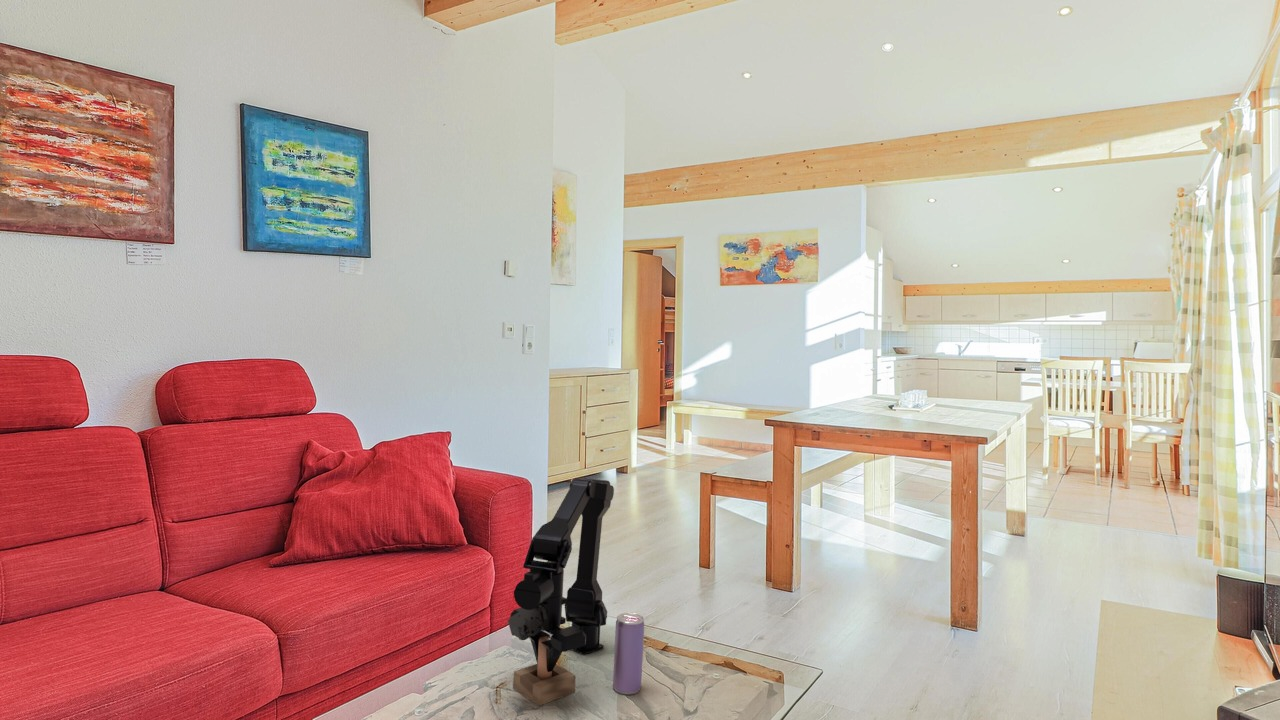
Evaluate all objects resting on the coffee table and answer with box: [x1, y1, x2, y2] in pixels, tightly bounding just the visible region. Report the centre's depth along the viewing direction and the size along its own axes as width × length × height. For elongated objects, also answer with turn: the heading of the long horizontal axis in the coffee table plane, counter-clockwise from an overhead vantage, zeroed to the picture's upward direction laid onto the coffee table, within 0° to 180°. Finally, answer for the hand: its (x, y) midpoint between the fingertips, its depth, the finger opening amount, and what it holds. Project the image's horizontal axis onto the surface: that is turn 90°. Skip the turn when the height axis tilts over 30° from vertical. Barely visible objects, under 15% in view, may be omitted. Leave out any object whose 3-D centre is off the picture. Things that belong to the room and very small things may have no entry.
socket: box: [512, 663, 576, 706], centre depth 149 cm, size 9×9×4 cm
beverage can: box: [612, 612, 645, 696], centre depth 151 cm, size 6×6×15 cm
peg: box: [537, 637, 552, 681], centre depth 149 cm, size 3×3×9 cm
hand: (545, 668), depth 149 cm, fingers closed on peg, 3 cm apart
